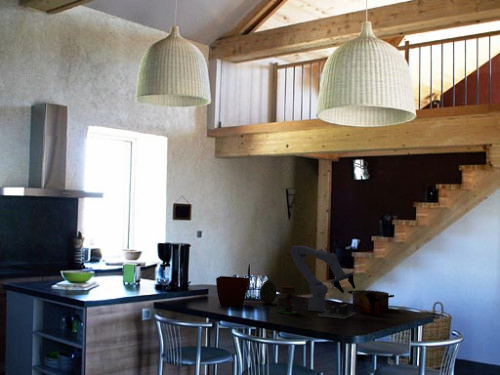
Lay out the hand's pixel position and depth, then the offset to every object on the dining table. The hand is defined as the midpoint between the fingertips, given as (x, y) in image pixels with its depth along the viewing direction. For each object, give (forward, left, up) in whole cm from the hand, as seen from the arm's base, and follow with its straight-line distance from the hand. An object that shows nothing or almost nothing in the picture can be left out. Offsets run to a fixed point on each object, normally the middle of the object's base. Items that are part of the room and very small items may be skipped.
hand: (349, 290), depth 371 cm
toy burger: (-33, -13, -15) cm, 38 cm away
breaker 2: (-3, +4, -13) cm, 14 cm away
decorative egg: (-58, +15, -15) cm, 62 cm away
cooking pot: (+3, +37, -15) cm, 40 cm away
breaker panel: (-6, -3, -15) cm, 16 cm away
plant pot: (-72, -8, -15) cm, 74 cm away
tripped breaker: (-6, -10, -13) cm, 17 cm away
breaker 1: (-3, -3, -13) cm, 14 cm away
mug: (+9, +15, -15) cm, 23 cm away
